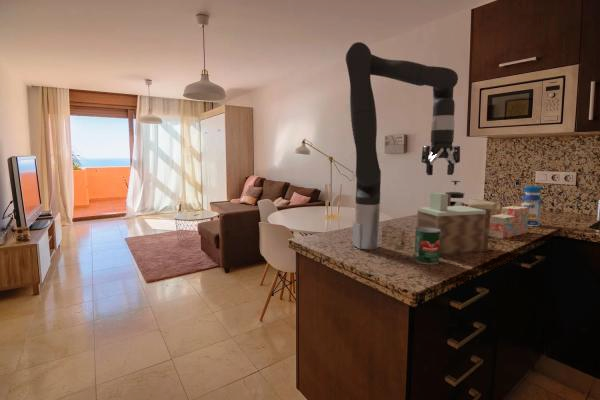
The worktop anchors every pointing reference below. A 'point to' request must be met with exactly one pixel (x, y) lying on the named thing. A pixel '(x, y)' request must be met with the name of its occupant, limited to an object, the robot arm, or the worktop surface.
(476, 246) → the storage box
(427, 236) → the canned tomato
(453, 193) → the french press
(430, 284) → the worktop surface
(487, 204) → the key bar
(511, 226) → the stack of blocks
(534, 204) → the beverage bottle
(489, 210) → the post
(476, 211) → the lid
